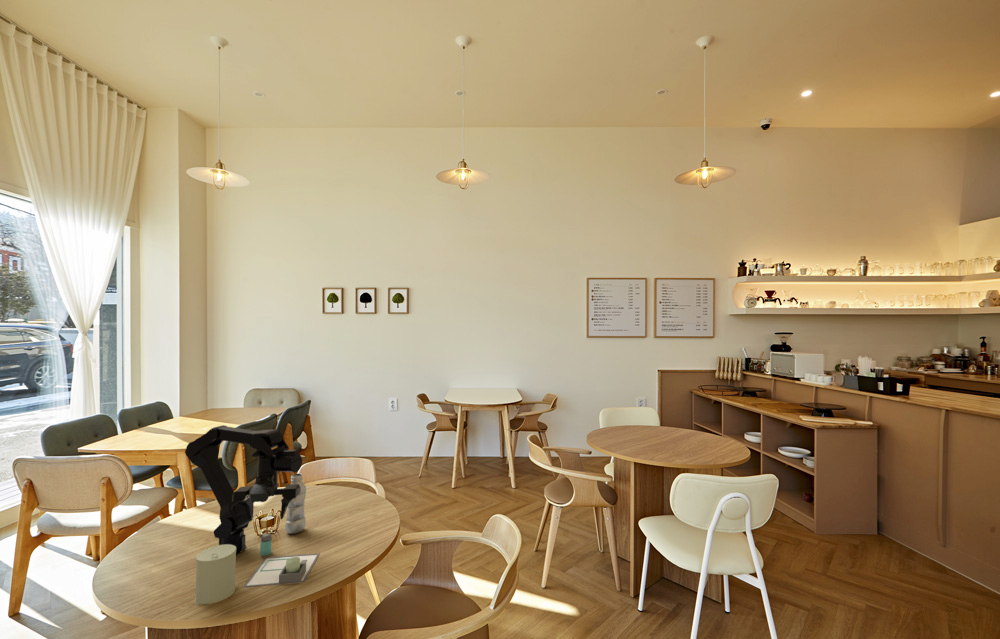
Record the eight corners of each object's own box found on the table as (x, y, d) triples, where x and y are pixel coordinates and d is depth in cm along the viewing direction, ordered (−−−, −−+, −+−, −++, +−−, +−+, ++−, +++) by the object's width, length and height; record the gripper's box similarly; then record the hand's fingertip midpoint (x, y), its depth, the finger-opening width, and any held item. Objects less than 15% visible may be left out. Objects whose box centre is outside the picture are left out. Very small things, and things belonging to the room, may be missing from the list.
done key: (284, 575, 120) (284, 564, 120) (288, 568, 124) (288, 557, 124) (297, 573, 121) (297, 563, 121) (301, 567, 124) (301, 556, 124)
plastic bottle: (280, 534, 151) (281, 476, 151) (296, 526, 157) (297, 471, 158) (294, 537, 148) (295, 479, 149) (309, 529, 154) (310, 473, 155)
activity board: (242, 589, 117) (243, 578, 118) (265, 559, 133) (265, 549, 133) (304, 584, 120) (304, 573, 120) (319, 555, 136) (319, 546, 136)
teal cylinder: (259, 558, 134) (259, 538, 135) (262, 553, 137) (263, 533, 138) (269, 557, 135) (269, 537, 135) (272, 552, 138) (273, 533, 138)
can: (190, 610, 108) (191, 562, 109) (199, 590, 117) (200, 546, 117) (232, 601, 112) (233, 554, 113) (238, 583, 121) (239, 539, 121)
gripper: (224, 480, 128) (222, 533, 127) (290, 477, 131) (289, 529, 130) (240, 468, 139) (239, 517, 138) (301, 466, 142) (300, 514, 141)
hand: (266, 519), depth 137 cm, fingers open, 9 cm apart
